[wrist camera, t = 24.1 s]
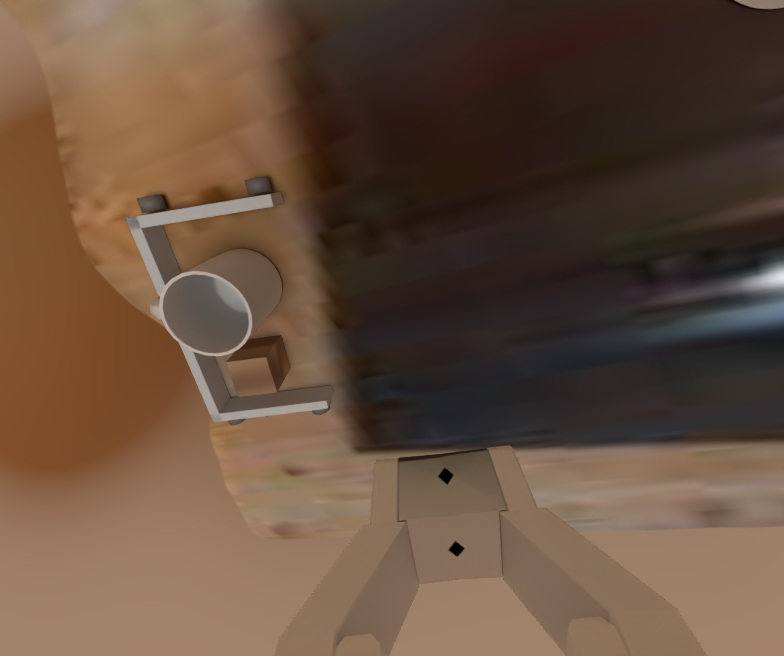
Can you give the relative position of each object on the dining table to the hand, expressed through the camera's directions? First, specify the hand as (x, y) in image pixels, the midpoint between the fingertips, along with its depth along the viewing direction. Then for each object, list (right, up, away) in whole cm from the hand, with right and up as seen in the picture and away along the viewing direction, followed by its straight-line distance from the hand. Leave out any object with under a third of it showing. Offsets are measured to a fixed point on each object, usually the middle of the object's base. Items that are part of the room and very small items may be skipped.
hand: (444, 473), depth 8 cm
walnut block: (-15, 0, +32) cm, 35 cm away
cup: (-17, +8, +29) cm, 34 cm away
